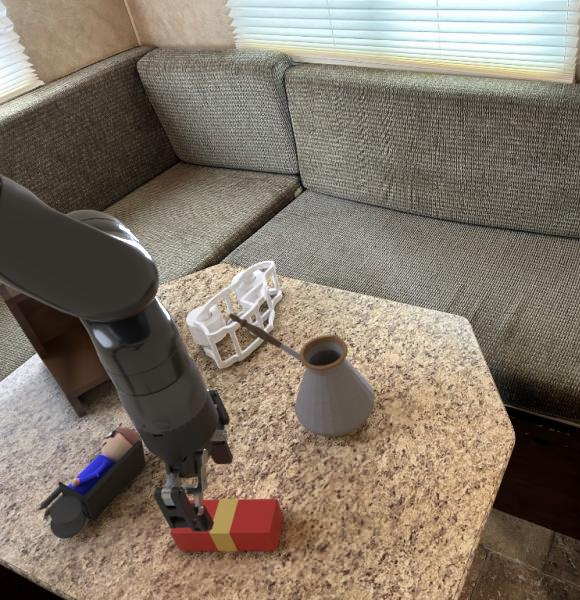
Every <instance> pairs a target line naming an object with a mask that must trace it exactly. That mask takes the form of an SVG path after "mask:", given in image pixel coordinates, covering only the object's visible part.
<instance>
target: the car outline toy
mask: <svg viewBox="0 0 580 600" xmlns="http://www.w3.org/2000/svg"><path fill="white" fill-rule="evenodd" d="M262 269H266V270H265V271H264V272H263V271H261V270H262ZM270 277H271V278H272V281H273V285H274V287H273V288H269V287H268V283H267V282H268V281H267V280H268V279H269V278H270ZM278 279H279V278H278V276H277V271H276V265H275V261H273V260H271V259H269V260H264V261H259V262H256V263H254V264H252V265H250V266H248V268H245V269H244V270H242V271H240V272H238V273H236V274H235V275H234V276H233V277H232V280H231V283H230V284H229V285H228V286H226V287H225V288H223V289H222V290H220V291H219V292H217V293H216V294H214V295H213V296H212V297H211V298H210V299H208V300H207V301H206V302H205V303H204V305H202V306H201V305H200V306H198V307H196V308H194V309H192V310H191V311H190V312H189V313H188V314H187V316H186V319H185V322H186V324H187V327H188V330H189V332H190V334H191V337H192V339H193V341H194V343H195V344H197V345H198V346H203V350H204V353H205V355H206V356H207V357H210V358H211V359H212V360H213V361H214V362H215V364H216V366H217V368H218V369H220V370H223V369H226V368H229V367H230V366H232V365H233V364H235V363H237V362H243V360H245V359H246V358H247V357H248V356H249V355H251V354H252V353H253V352H254V351H255V350H256V349H258V348H259V346H261V345H262V343H264V342H265V340H263V339H261V338H259V337H257V338H256V339H255V340H253V342H251V343H250V344H249V345H248V346H247V347H246V348H244V350H242V349H241V346H240V343H239V340H238V338H237V335H236V331H237V330H238V329H239V328H241V326H240V324H239V323H238V322H235V321H233V322H232V323H231V324H230V325H226V321H225V319H224V317H223V314H222V311H221V309H220V308H219V307H218V306H217V305H216V304H217V303H219V302H220V301H221V300H223V299H224V303H225V305H226V308H227V311H228V314H229V315H230V314H233V313H235V311H234V308H233V305H232V302H231V299H230V296H229V294H232V293H234V294H235V296H236V299H237V302H238V304H239V305H240V306H241V308H242V309H241V311H239V312H238V313H236V314H237V316H239V318H241V319H246V320H247V322H248V323H250V324H252V325H255V326H257V327H260V328H261V329H263V330H264V331H266V332H267V333H269V334H270V333H271V332H272V331H273V330H274V320H275V317H276V312H275V306H276V305H277V304H278V303H279V302H281V300H282V298H283V292H282V289H281V287H280V283H279V280H278ZM271 296H274V297H273V298H272V297H271ZM265 302H266V304H267V307H268V309H267V310H266V311H265V312H264V313H262V315H261V313H260V307H261V306H262V305H263V304H264V303H265ZM234 315H235V314H234ZM253 316H255V320H254V322H253V320H252V317H253ZM267 320H268V324H267V325H266V326H265V325H264V323H265V322H266V321H267ZM231 321H232V319H231V318H230V319H229V320H228V322H227V324H229V323H230V322H231ZM248 331H249V330H248ZM227 334H229V335H230V339H231V342H232V344H233V347H234V350H235V353H234V354H233V355H231V356H229V357H228V358H227V359H225V360H222V357H221V355H220V352H219V349H218V347H217V343H219V342H220V341H222V340H223V339H225V337H226V336H227ZM249 334H250V335H252V336H254V337H256V336H255V335H254V334H253V333H252V332H250V331H249Z"/></svg>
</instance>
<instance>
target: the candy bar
mask: <svg viewBox="0 0 580 600" xmlns="http://www.w3.org/2000/svg"><path fill="white" fill-rule="evenodd" d="M189 501H190V503H195V500H194V499H189ZM204 506H205V507H206V508H207V510H208V512H209V514H210V516H211V518H212V520H213V522H214V525H213V528H212V530H207V532H193V531H192V530H191V528H171V529H170V533H169V534H170V536H171V538H172V539H173V541H174V543H175V544H176V546H177V548H178V549H179V551H180V552H208V551H209V552H215V551H216V552H238V551H243V552H244V551H245V552H246V551H247V552H248V551H249V552H250V551H254V552H255V551H257V552H258V551H260V552H261V551H262V552H263V551H277V550H278V546H279V541H280V537H281V532H282V529H283V528H282V527H283V522H284V518H285V516H284V513H283V511H282V509H281V505H280V503H279V500H278V498H255V499H254V498H247V499H246V498H244V499H243V498H241V499H239V498H220V499H204Z"/></svg>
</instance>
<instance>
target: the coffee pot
mask: <svg viewBox="0 0 580 600" xmlns="http://www.w3.org/2000/svg"><path fill="white" fill-rule="evenodd" d="M234 314H235V315H234ZM237 314H238V313H237V312H235V311H234V313H233V314H229V315H228V317H227V320H226V321H225V322H226V325H230V324H231V323H232V322H233V321H235V322H238V323H239V324H240V328H245V329H247V330H248V331H250V332H252V333H253V334H254V335H255V336H254V335H253V336H254V337H257V338H258V337H259V338H261V339H263V340H264V342H266V343H269V344H271V345H273V346H274V347H276V348H278V349H280V350H282V351H284V352H285V353H287V354H288V355H289V356H292V357H293V358H294V359H296V360H297V361H300V363H301V364H302V365H303V366H304V367H305V370H304V373H303V375H302V380H301V382H300V385H299V389H298V392H297V395H296V399H295V403H294V411H295V412H294V413H295V416H296V418H297V420H298V422H299V423H300V424H301V426H303V427H304V429H306V430H307V431H308V432H311V433H313V434H314V435H317V436H320V437H325V438H326V437H327V438H330V437H331V438H332V437H333V438H334V437H341V436H344V435H347V434H350V433H352V432H354V431H356V430H357V429H359V428H360V427H362V426H363V425H364V424H365V423H366V421H367V420H368V419H369V418H370V416H371V414H372V412H373V410H374V408H375V400H376V396H375V392H374V388H373V386H372V385H371V384H370V382H369V381H368V380H367V378H365V377H364V376H363V375H362V374H361V372H360V371H359V370H358V369H357V368H356V367H355V366H354V365H353V364H352V363H351V361H349V359H347V356H348V352H349V348H348V344H346V341H344V339H343V338H342V337H341V336H339V335H337V334H327V335H326V334H324V335H320V336H316V337H314V338H311V339H310V340H308V341H307V342H306V343H304V344H303V346H302V348H301V349H300V351H297V350H295V349H294V348H292V347H289V345H286V344H285V343H284V342H282V341H280V340H279V339H278V338H276V337H275V336H273V335H272V334H270V333H267V332H266V331H264V330H263V329H261V328H260V327H257V326H255V325H252V324H250V323H248V322H247V320H246V319H241V318H239V316H237ZM229 319H232V321H231V322H230V323H229V324H227V322H228V320H229ZM250 332H249V333H250Z"/></svg>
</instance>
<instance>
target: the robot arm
mask: <svg viewBox="0 0 580 600" xmlns="http://www.w3.org/2000/svg"><path fill="white" fill-rule="evenodd" d="M0 283H1V284H5V285H7V286H9V287H11V288H13V289H15V290H17V291H19V292H21V293H23V294H25V295H27V296H29V297H32V298H34V299H36V300H38V301H40V302H42V303H44V304H46V305H49V306H51V307H53V308H55V309H58V310H60V311H62V312H65V313H67V314H70V315H73V316H76V317H79V319H80V320H81V322H82V323H83V325H84V326H85V328H86V330H87V331H88V333H89V335H90V337H91V339H92V342H93V344H94V346H95V349H96V351H97V354H98V356H99V359H100V361H101V363H102V365H103V366H104V368H105V370H106V372H107V374H108V375H109V377H110V378H109V379H110V380H111V382H112V384H113V386H114V388H115V390H116V392H117V396H118V398H119V401H120V404H121V405H122V407H123V409H124V411H125V413H126V414H127V416H128V418H129V420H130V421H131V423H132V425H133V426H134V428H135V429H136V430H135V431H136V432H137V433H138V434H139V435H140V437H141V439H142V443H143V445H145V447H146V449H147V450H148V451H149V452H150V453H151V454H152V455H154V456H155V457H157V458H158V459H160V460H161V461H163V462H164V465H165V472H166V474H167V476H168V477H167V479H166V482H165V484H164V486H156V487H155V488H154V491H153V497H154V501H155V502H156V504H157V505H158V508H159V510H160V512H161V513H162V515H163V516H164V519H165V521H166V522H167V525H168V526H169V529H172V528H191V530H192V531H193V532H207V530H212V528H213V525H214V522H213V520H212V518H211V516H210V514H209V512H208V510H207V508H206V507H205V506H204V500H205V499H204V498H205V497H204V492H205V491H206V490H207V489H208V471H207V465H208V463H209V458H210V457H211V460H212V461H213V463H214V464H216V465H232V463H233V460H234V454H233V453H232V451H231V448H230V446H229V445H230V444H229V443H228V441H227V439H228V431H227V429H225V427H226V426H228V425H229V424H230V420H231V418H230V415H229V413H228V410H227V408H226V406H225V404H224V402H223V400H222V398H221V396H220V394H219V392H218V390H217V389H215V388H214V389H208V386H207V384H206V381H205V380H204V377H203V375H202V372H201V370H200V369H199V368H200V367H199V366H198V365H197V363H196V361H195V360H194V358H193V357H192V356H191V354H190V352H189V350H188V347H187V345H186V343H185V341H184V338H183V336H182V334H181V332H180V329H179V327H178V325H177V323H176V322H175V320H174V318H173V317H172V315H171V314H170V312H169V311H168V310H167V308H166V307H165V306H164V305H163V304H162V302H161V301H160V299H159V298H158V296H157V294H158V291H159V289H160V288H159V286H160V274H159V269H158V266H157V263H156V261H155V259H154V258H153V256H152V254H151V252H149V251H148V249H147V248H146V247H145V245H144V244H143V243H142V242H141V241H140V240H139V239H138V238H137V237H136V236H135V235H134V233H132V231H131V230H130V229H129V228H128V227H127V226H126V224H124V223H123V222H122V221H121V220H119V219H117V217H114V216H112V215H111V214H109V213H107V212H104V211H101V210H95V209H78V210H74V211H71V212H68V213H66V214H65V213H63V212H61V211H59V210H57V209H55V208H53V207H51V206H49V205H48V204H47V203H45V202H44V201H43V200H42V199H40V198H39V197H38V195H36V194H35V193H34V192H33V191H31V190H30V189H29V188H27V187H26V186H24V185H22V184H21V183H19V182H17V181H15V180H13V179H12V178H9V177H8V176H5V175H3V174H1V173H0ZM182 479H183V480H184V479H197V480H196V481H197V483H184V482H182ZM189 495H192V496H193V498H194V499H193V500H195V503H190V501H189V500H190V499H189V498H188V496H189Z"/></svg>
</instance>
